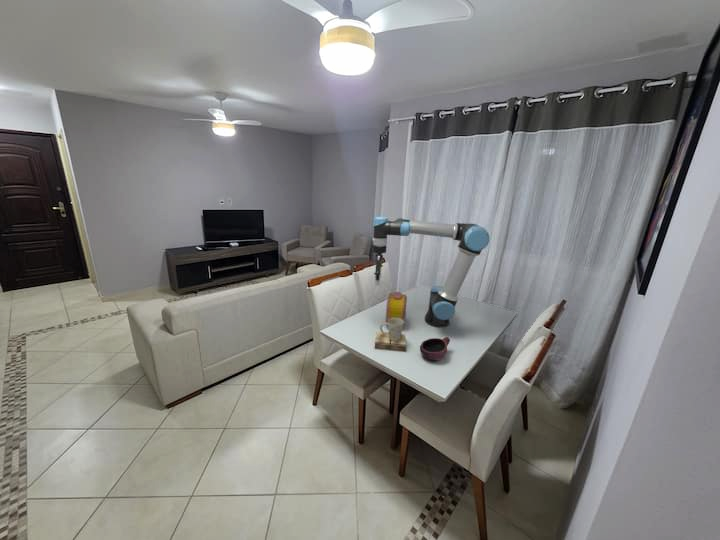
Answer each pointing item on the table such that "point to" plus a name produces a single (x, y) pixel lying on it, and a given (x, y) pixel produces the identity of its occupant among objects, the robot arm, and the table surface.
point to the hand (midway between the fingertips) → (377, 281)
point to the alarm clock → (396, 306)
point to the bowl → (434, 348)
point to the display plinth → (389, 342)
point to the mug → (394, 328)
